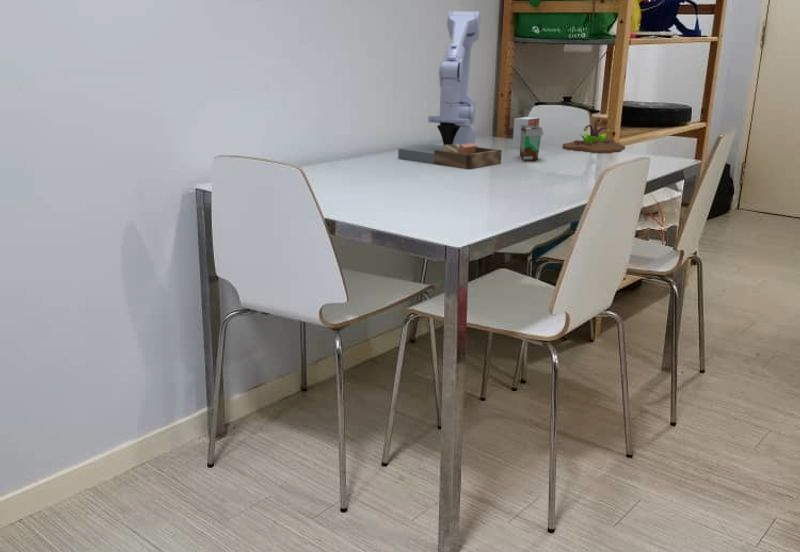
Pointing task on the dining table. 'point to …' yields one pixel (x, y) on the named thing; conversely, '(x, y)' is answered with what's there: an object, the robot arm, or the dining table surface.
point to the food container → (530, 142)
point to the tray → (468, 158)
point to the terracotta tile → (467, 148)
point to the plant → (594, 142)
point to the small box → (517, 128)
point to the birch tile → (451, 147)
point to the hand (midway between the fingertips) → (447, 148)
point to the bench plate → (419, 153)
